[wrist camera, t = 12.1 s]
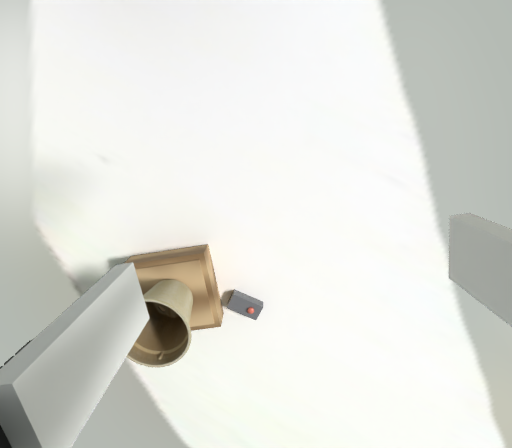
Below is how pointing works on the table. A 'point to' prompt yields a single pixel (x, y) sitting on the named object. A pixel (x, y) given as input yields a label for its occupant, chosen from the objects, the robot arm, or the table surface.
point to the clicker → (245, 304)
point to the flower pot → (164, 325)
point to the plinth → (184, 280)
